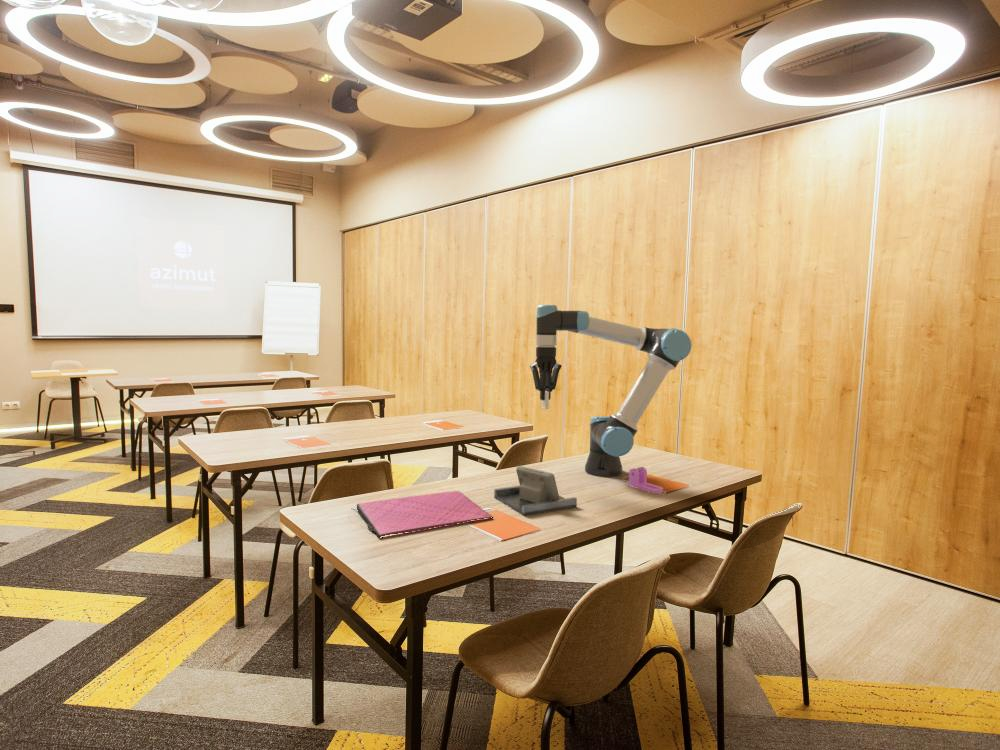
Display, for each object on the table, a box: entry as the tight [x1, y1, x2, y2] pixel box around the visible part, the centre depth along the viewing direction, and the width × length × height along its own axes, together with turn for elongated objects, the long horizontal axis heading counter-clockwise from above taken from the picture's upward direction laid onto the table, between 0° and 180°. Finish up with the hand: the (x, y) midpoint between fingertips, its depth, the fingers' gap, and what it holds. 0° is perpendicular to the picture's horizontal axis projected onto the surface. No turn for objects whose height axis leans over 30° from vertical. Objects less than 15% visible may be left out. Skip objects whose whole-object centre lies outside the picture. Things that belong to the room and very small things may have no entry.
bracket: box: [628, 466, 664, 494], centre depth 209 cm, size 13×6×7 cm, turn 35°
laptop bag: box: [352, 490, 494, 539], centre depth 177 cm, size 40×4×27 cm
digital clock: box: [515, 465, 560, 503], centre depth 191 cm, size 16×9×11 cm, turn 36°
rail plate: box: [493, 485, 578, 517], centre depth 192 cm, size 20×21×3 cm
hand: (545, 408), depth 214 cm, fingers closed
